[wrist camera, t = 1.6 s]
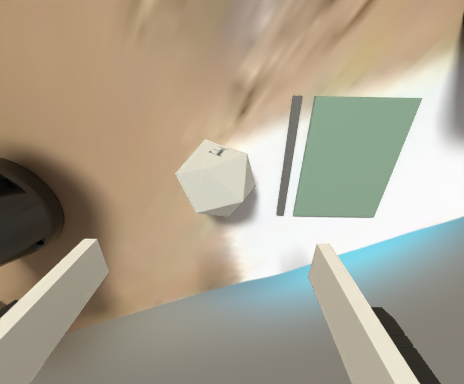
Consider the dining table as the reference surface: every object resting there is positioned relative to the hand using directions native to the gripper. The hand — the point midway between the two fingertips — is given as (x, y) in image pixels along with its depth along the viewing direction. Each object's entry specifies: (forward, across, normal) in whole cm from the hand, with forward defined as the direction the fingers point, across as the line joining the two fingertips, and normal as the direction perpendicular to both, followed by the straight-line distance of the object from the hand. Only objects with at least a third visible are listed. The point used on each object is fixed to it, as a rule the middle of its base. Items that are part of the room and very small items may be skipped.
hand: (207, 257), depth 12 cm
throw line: (+16, +9, +1) cm, 18 cm away
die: (+16, 0, 0) cm, 16 cm away
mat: (+16, +17, +1) cm, 23 cm away
